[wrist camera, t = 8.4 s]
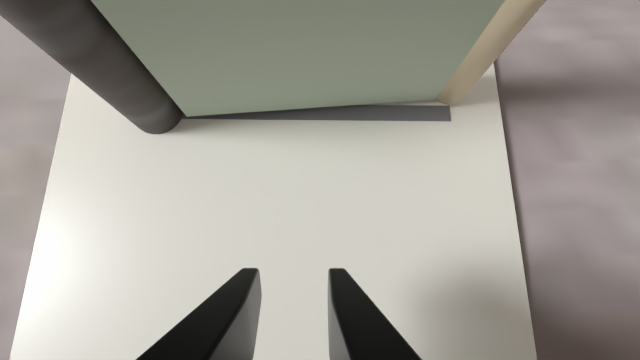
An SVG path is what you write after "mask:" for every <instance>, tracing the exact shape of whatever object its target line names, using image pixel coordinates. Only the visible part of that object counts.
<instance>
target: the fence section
mask: <svg viewBox="0 0 640 360" xmlns="http://www.w3.org/2000/svg"><path fill="white" fill-rule="evenodd" d="M0 15H1V16H2V17H3V18H4V19H6V20H7V21H8V22H9V23H10V24H12V25H13V26H14V27H15V28H17V29H18V30H19V31H20V32H21V33H23V34H24V35H25V36H26V37H28V38H29V39H30V40H31V41H32V42H34V43H35V44H36V45H37V46H39V47H40V48H41V49H42V50H44V51H45V52H46V53H47V54H48V55H50V56H51V57H52V58H53V59H55V60H56V61H57V62H58V63H59V64H61V65H62V66H63V67H64V68H66V69H67V70H68V71H69V72H71V73H72V74H73V75H74V76H75V77H77V78H78V79H79V80H80V81H82V82H83V83H84V84H85V85H86V86H88V87H89V88H90V89H91V90H93V91H94V92H95V93H96V94H97V95H99V96H100V97H101V98H102V99H104V100H105V101H106V102H107V103H109V104H110V105H111V106H112V107H113V108H115V109H116V110H117V111H118V112H120V113H121V114H122V115H123V116H124V117H126V118H127V119H128V120H129V121H131V122H132V123H133V124H134V125H136V126H137V127H138V128H139V129H140V130H142V131H144V132H146V133H149V134H162V133H166V132H168V131H170V130H172V129H173V128H174V127H175V126H177V124H178V123H179V122H180V120H181V117H182V114H183V111H182V110H181V109H180V108H179V107H178V105H177V104H176V103H175V102H174V100H173V99H172V98H171V97H170V96H169V94H168V93H167V92H166V91H165V90H164V88H163V87H162V86H161V85H160V84H159V82H158V81H157V80H156V79H155V77H154V76H153V75H152V74H151V73H150V71H149V70H148V69H147V68H146V67H145V65H144V64H143V63H142V62H141V60H140V59H139V58H138V57H137V56H136V54H135V53H134V52H133V51H132V50H131V48H130V47H129V46H128V45H127V44H126V42H125V41H124V40H123V39H122V37H121V36H120V35H119V34H118V33H117V31H116V30H115V29H114V28H113V27H112V25H111V24H110V23H109V22H108V21H107V19H106V18H105V17H104V16H103V14H102V13H101V12H100V11H99V10H98V8H97V7H96V6H95V5H94V4H93V2H92V1H91V0H0Z"/></svg>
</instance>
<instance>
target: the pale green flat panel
mask: <svg viewBox="0 0 640 360" xmlns="http://www.w3.org/2000/svg"><path fill="white" fill-rule="evenodd" d="M91 1H92V2H93V4H94V5H95V6H96V7H97V8H98V10H99V11H100V12H101V13H102V14H103V16H104V17H105V18H106V19H107V21H108V22H109V23H110V24H111V25H112V27H113V28H114V29H115V30H116V31H117V33H118V34H119V35H120V36H121V37H122V39H123V40H124V41H125V42H126V44H127V45H128V46H129V47H130V48H131V50H132V51H133V52H134V53H135V54H136V56H137V57H138V58H139V59H140V60H141V62H142V63H143V64H144V65H145V67H146V68H147V69H148V70H149V71H150V73H151V74H152V75H153V76H154V77H155V79H156V80H157V81H158V82H159V84H160V85H161V86H162V87H163V88H164V90H165V91H166V92H167V93H168V94H169V96H170V97H171V98H172V99H173V100H174V102H175V103H176V104H177V105H178V107H179V108H180V109H181V110H182V111H183V113H184V114H185V115H186V116H187V117H189V116H204V115H218V114H233V113H247V112H261V111H276V110H290V109H305V108H319V107H334V106H348V105H363V104H377V103H392V102H406V101H420V100H435V99H436V100H437V101H439V102H441V103H444V104H455V103H457V102H459V101H460V100H462V99H463V97H464V96H465V95H466V94H467V93H468V92H469V90H470V89H471V88H472V87H473V86H474V85H475V83H476V82H477V81H478V80H479V79H480V78H481V76H482V75H483V74H484V73H485V72H486V70H487V69H488V68H489V67H490V66H491V65H492V63H493V62H494V61H495V60H496V59H497V58H498V56H499V55H500V54H501V53H502V52H503V51H504V49H505V48H506V47H507V46H508V45H509V44H510V42H511V41H512V40H513V39H514V38H515V36H516V35H517V34H518V33H519V32H520V31H521V29H522V28H523V27H524V26H525V25H526V24H527V22H528V21H529V20H530V19H531V18H532V17H533V15H534V14H535V13H536V12H537V11H538V10H539V8H540V7H541V6H542V5H543V4H544V2H545V1H546V0H91Z"/></svg>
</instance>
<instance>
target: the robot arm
mask: <svg viewBox="0 0 640 360" xmlns="http://www.w3.org/2000/svg"><path fill="white" fill-rule="evenodd" d="M261 299H262V291H261V282H260V272H259V269H258V268H242V269H241V270H240V271H238V272H237V273H236V274H235V275H234V276H233V277H231V278H230V279H229V280H228V281H227V282H226V283H224V284H223V285H222V286H221V287H220V288H219V289H217V290H216V291H215V292H214V293H213V294H212V295H210V296H209V297H208V298H207V299H206V300H204V301H203V302H202V303H201V304H200V305H199V306H197V307H196V308H195V309H194V310H193V311H192V312H190V313H189V314H188V315H187V316H186V317H185V318H183V319H182V320H181V321H180V322H179V323H178V324H176V325H175V326H174V327H173V328H172V329H171V330H169V331H168V332H167V333H166V334H165V335H164V336H162V337H161V338H160V339H159V340H158V341H157V342H155V343H154V344H153V345H152V346H151V347H150V348H148V349H147V350H146V351H145V352H144V353H143V354H141V355H140V356H139V357H138V358H137V359H136V360H253V356H254V350H255V344H256V336H257V329H258V322H259V315H260V307H261ZM328 339H329V357H330V360H422V359H421V358H420V356H419V355H418V354H417V353H416V352H415V351H414V349H413V348H412V347H411V346H410V345H409V344H408V342H407V341H406V340H405V339H404V338H403V336H402V335H401V334H400V333H399V332H398V331H397V329H396V328H395V327H394V326H393V325H392V324H391V322H390V321H389V320H388V319H387V318H386V316H385V315H384V314H383V313H382V312H381V311H380V309H379V308H378V307H377V306H376V305H375V304H374V302H373V301H372V300H371V299H370V298H369V296H368V295H367V294H366V293H365V292H364V291H363V289H362V288H361V287H360V286H359V285H358V284H357V282H356V281H355V280H354V279H353V278H352V276H351V275H350V274H349V273H348V272H347V271H346V270H345V269H344V268H330V269H329V270H328Z"/></svg>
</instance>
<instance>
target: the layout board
mask: <svg viewBox="0 0 640 360" xmlns="http://www.w3.org/2000/svg"><path fill="white" fill-rule="evenodd" d="M242 268H258V269H259V272H260V282H261V291H262V299H261V307H260V315H259V322H258V329H257V336H256V344H255V350H254V356H253V360H330V357H329V339H328V270H329V269H330V268H344V269H345V270H346V271H347V272H348V273H349V274H350V275H351V276H352V278H353V279H354V280H355V281H356V282H357V284H358V285H359V286H360V287H361V288H362V289H363V291H364V292H365V293H366V294H367V295H368V296H369V298H370V299H371V300H372V301H373V302H374V304H375V305H376V306H377V307H378V308H379V309H380V311H381V312H382V313H383V314H384V315H385V316H386V318H387V319H388V320H389V321H390V322H391V324H392V325H393V326H394V327H395V328H396V329H397V331H398V332H399V333H400V334H401V335H402V336H403V338H404V339H405V340H406V341H407V342H408V344H409V345H410V346H411V347H412V348H413V349H414V351H415V352H416V353H417V354H418V355H419V356H420V358H421V359H422V360H537V355H536V348H535V341H534V335H533V328H532V321H531V314H530V307H529V301H528V294H527V287H526V280H525V273H524V267H523V260H522V253H521V246H520V239H519V233H518V226H517V219H516V212H515V205H514V199H513V192H512V185H511V178H510V171H509V165H508V158H507V151H506V144H505V137H504V131H503V124H502V117H501V110H500V103H499V97H498V90H497V83H496V76H495V69H494V63H492V65H491V66H490V67H489V68H488V69H487V70H486V72H485V73H484V74H483V75H482V76H481V78H480V79H479V80H478V81H477V82H476V83H475V85H474V86H473V87H472V88H471V89H470V90H469V92H468V93H467V94H466V95H465V96H464V97H463V99H462V100H460V101H459V102H457V103H455V104H444V103H441V102H439V101H437V100H436V99H435V100H420V101H406V102H392V103H377V104H363V105H348V106H334V107H319V108H305V109H290V110H276V111H261V112H247V113H233V114H218V115H204V116H189V117H187V116H186V115H185V114H184V113H183V114H182V117H181V120H180V122H179V123H178V124H177V126H175V127H174V128H173V129H172V130H170V131H168V132H166V133H162V134H149V133H146V132H144V131H142V130H140V129H139V128H138V127H137V126H136V125H134V124H133V123H132V122H131V121H129V120H128V119H127V118H126V117H124V116H123V115H122V114H121V113H120V112H118V111H117V110H116V109H115V108H113V107H112V106H111V105H110V104H109V103H107V102H106V101H105V100H104V99H102V98H101V97H100V96H99V95H97V94H96V93H95V92H94V91H93V90H91V89H90V88H89V87H88V86H86V85H85V84H84V83H83V82H82V81H80V80H79V79H78V78H77V77H75V76H74V75H73V74H72V73H71V78H70V83H69V87H68V92H67V96H66V101H65V106H64V110H63V115H62V119H61V124H60V129H59V133H58V138H57V143H56V147H55V152H54V156H53V161H52V166H51V170H50V175H49V180H48V184H47V189H46V193H45V198H44V203H43V207H42V212H41V216H40V221H39V226H38V230H37V235H36V240H35V244H34V249H33V253H32V258H31V263H30V267H29V272H28V277H27V281H26V286H25V290H24V295H23V300H22V304H21V309H20V313H19V318H18V323H17V327H16V332H15V337H14V341H13V346H12V350H11V355H10V360H136V359H137V358H138V357H139V356H140V355H141V354H143V353H144V352H145V351H146V350H147V349H148V348H150V347H151V346H152V345H153V344H154V343H155V342H157V341H158V340H159V339H160V338H161V337H162V336H164V335H165V334H166V333H167V332H168V331H169V330H171V329H172V328H173V327H174V326H175V325H176V324H178V323H179V322H180V321H181V320H182V319H183V318H185V317H186V316H187V315H188V314H189V313H190V312H192V311H193V310H194V309H195V308H196V307H197V306H199V305H200V304H201V303H202V302H203V301H204V300H206V299H207V298H208V297H209V296H210V295H212V294H213V293H214V292H215V291H216V290H217V289H219V288H220V287H221V286H222V285H223V284H224V283H226V282H227V281H228V280H229V279H230V278H231V277H233V276H234V275H235V274H236V273H237V272H238V271H240V270H241V269H242Z"/></svg>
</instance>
